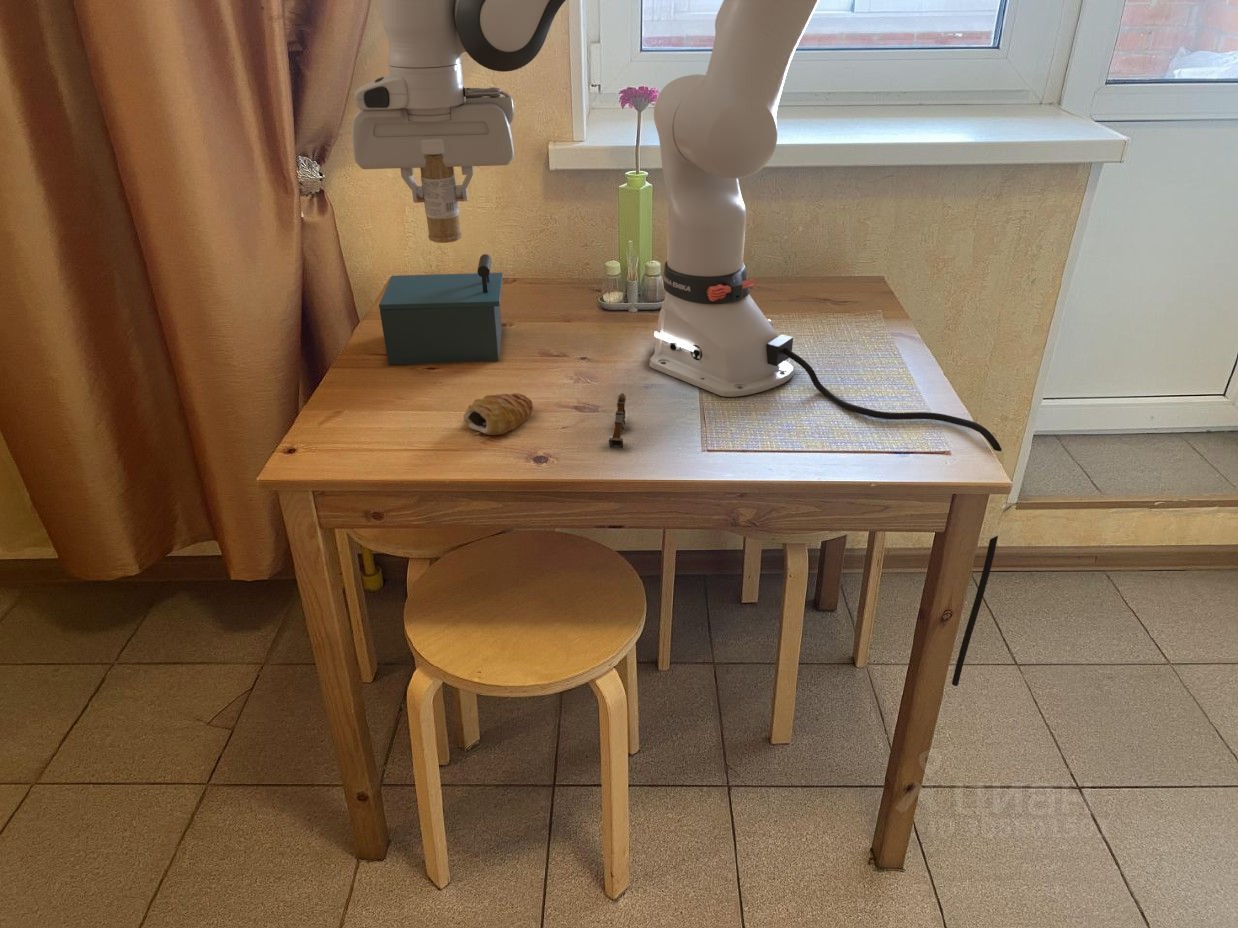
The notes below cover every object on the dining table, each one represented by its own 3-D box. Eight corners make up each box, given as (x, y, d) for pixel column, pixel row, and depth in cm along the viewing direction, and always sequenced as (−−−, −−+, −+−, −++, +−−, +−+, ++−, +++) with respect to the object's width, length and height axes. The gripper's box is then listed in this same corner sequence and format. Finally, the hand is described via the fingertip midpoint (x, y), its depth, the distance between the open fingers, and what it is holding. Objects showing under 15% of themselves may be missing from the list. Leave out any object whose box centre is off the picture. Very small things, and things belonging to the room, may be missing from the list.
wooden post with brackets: (630, 411, 118) (629, 390, 114) (624, 460, 113) (622, 439, 110) (616, 410, 118) (615, 389, 114) (610, 459, 114) (608, 438, 110)
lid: (502, 277, 140) (500, 246, 138) (499, 306, 130) (497, 273, 127) (392, 280, 139) (387, 249, 137) (379, 309, 129) (374, 276, 126)
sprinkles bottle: (451, 232, 122) (439, 130, 115) (468, 239, 119) (457, 135, 112) (422, 238, 120) (408, 135, 113) (438, 246, 117) (425, 140, 110)
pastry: (512, 401, 123) (510, 376, 121) (546, 416, 119) (545, 391, 117) (460, 425, 117) (457, 400, 115) (494, 443, 113) (491, 416, 111)
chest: (502, 329, 145) (497, 277, 140) (498, 361, 134) (494, 306, 130) (399, 332, 144) (392, 280, 139) (388, 365, 133) (379, 310, 129)
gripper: (512, 83, 113) (519, 192, 120) (350, 86, 112) (367, 197, 119) (511, 91, 108) (519, 205, 115) (341, 95, 106) (359, 209, 114)
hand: (440, 201), depth 117 cm, fingers closed on sprinkles bottle, 4 cm apart
